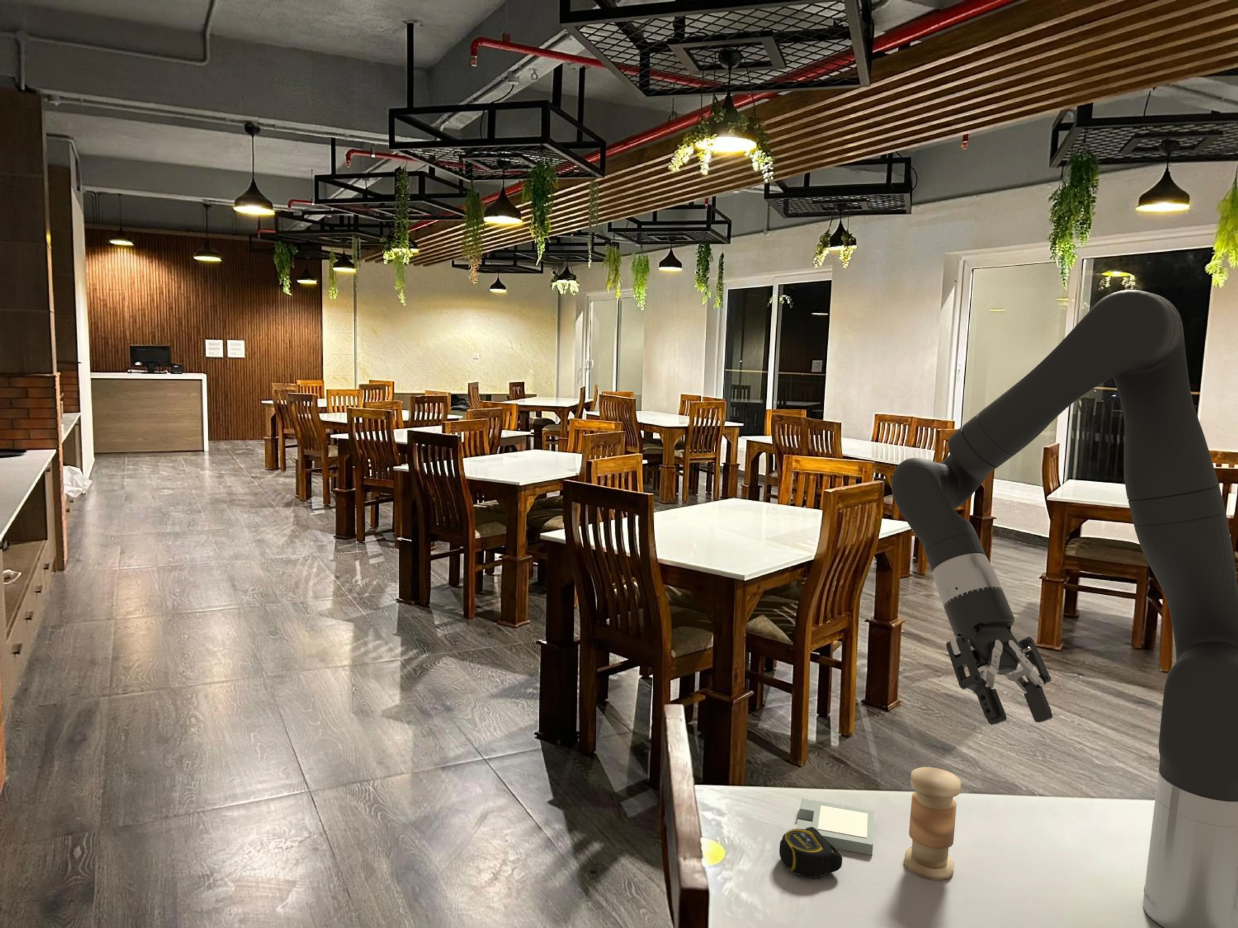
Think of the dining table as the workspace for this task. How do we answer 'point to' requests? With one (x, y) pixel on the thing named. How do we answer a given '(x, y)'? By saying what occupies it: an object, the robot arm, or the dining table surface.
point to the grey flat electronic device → (839, 824)
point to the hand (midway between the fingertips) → (1022, 721)
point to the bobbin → (932, 823)
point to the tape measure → (809, 853)
